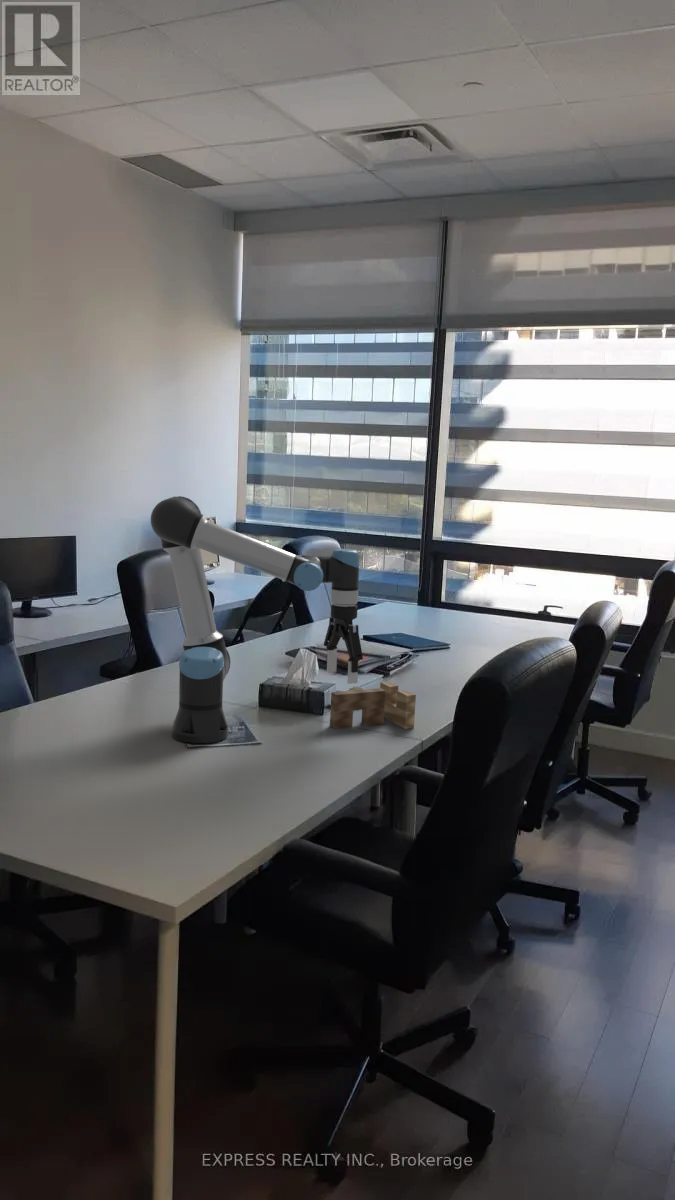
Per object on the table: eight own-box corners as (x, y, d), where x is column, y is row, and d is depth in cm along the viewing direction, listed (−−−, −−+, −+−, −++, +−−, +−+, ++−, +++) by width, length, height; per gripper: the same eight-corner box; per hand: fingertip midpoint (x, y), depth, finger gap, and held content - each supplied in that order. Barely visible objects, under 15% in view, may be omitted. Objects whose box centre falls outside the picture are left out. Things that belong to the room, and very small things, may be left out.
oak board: (404, 729, 261) (406, 695, 259) (378, 713, 275) (380, 681, 273) (413, 728, 262) (415, 694, 260) (387, 713, 276) (389, 681, 274)
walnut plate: (334, 728, 258) (335, 694, 256) (329, 725, 261) (331, 692, 259) (383, 723, 265) (385, 690, 263) (378, 720, 267) (380, 688, 266)
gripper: (376, 611, 245) (373, 687, 248) (337, 596, 267) (334, 666, 270) (352, 612, 242) (349, 689, 245) (314, 597, 264) (311, 668, 267)
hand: (341, 677), depth 258 cm, fingers open, 13 cm apart
